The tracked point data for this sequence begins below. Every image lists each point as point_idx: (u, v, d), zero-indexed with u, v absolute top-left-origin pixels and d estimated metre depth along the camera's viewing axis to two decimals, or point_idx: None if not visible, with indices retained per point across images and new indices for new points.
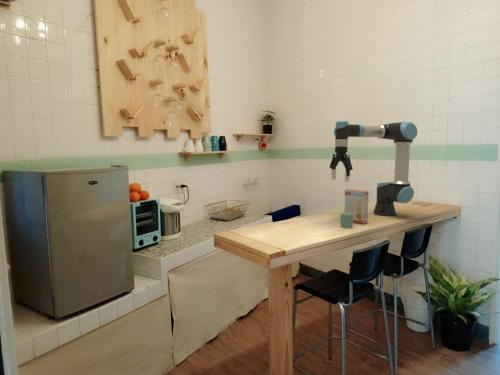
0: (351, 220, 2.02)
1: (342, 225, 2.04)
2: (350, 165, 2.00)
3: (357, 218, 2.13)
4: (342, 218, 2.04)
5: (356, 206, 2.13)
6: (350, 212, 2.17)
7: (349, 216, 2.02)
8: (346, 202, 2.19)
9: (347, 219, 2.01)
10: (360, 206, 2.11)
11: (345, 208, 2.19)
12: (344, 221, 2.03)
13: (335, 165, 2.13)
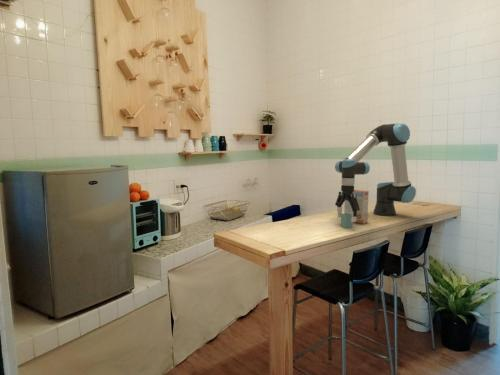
0: None
1: (342, 225, 2.04)
2: (357, 206, 1.94)
3: (357, 218, 2.13)
4: (342, 218, 2.04)
5: None
6: (350, 212, 2.17)
7: (349, 216, 2.02)
8: (346, 202, 2.19)
9: (347, 219, 2.01)
10: (360, 206, 2.11)
11: (345, 208, 2.19)
12: (344, 221, 2.03)
13: (341, 203, 2.08)
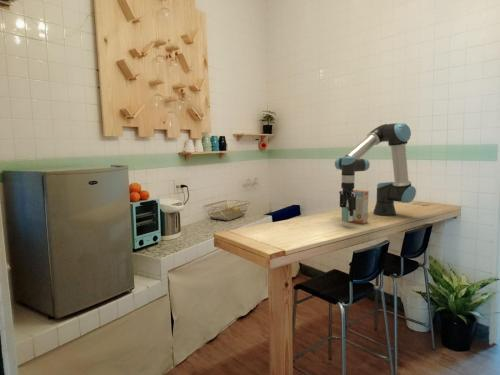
0: None
1: (343, 218, 2.04)
2: (354, 205, 1.98)
3: (357, 218, 2.13)
4: (343, 211, 2.04)
5: (356, 206, 2.13)
6: None
7: None
8: None
9: None
10: (360, 206, 2.11)
11: None
12: (345, 214, 2.03)
13: (345, 203, 2.05)
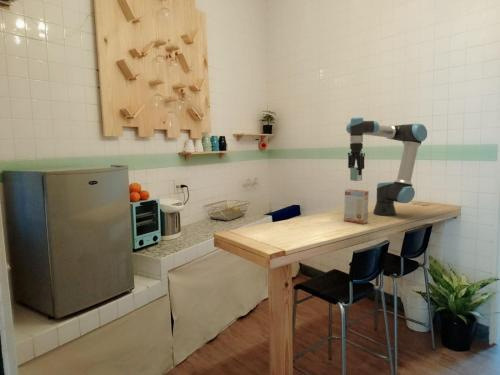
0: None
1: (352, 178, 2.11)
2: (363, 164, 2.05)
3: (357, 218, 2.13)
4: (351, 171, 2.11)
5: (356, 206, 2.13)
6: (350, 212, 2.17)
7: None
8: (346, 202, 2.19)
9: None
10: (360, 206, 2.11)
11: (345, 208, 2.19)
12: (353, 174, 2.10)
13: (353, 164, 2.13)
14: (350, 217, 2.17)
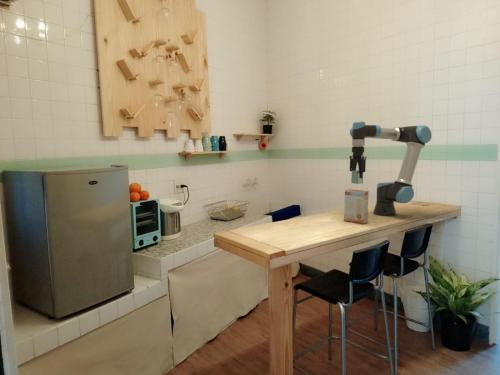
0: None
1: (353, 181, 2.15)
2: (364, 168, 2.08)
3: (357, 218, 2.13)
4: (353, 174, 2.14)
5: (356, 206, 2.13)
6: (350, 212, 2.17)
7: None
8: (346, 202, 2.19)
9: None
10: (360, 206, 2.11)
11: (345, 208, 2.19)
12: (354, 177, 2.13)
13: (354, 167, 2.16)
14: (350, 217, 2.17)
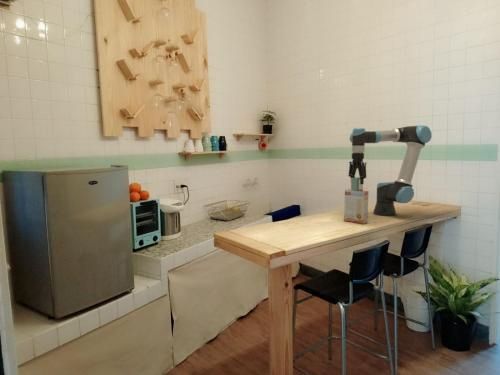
0: None
1: (353, 188, 2.15)
2: (365, 174, 2.08)
3: (357, 218, 2.13)
4: (353, 181, 2.15)
5: (356, 206, 2.13)
6: (350, 212, 2.17)
7: None
8: (346, 202, 2.19)
9: (358, 182, 2.12)
10: (360, 206, 2.11)
11: (345, 208, 2.19)
12: (354, 184, 2.13)
13: (354, 173, 2.17)
14: (350, 217, 2.17)
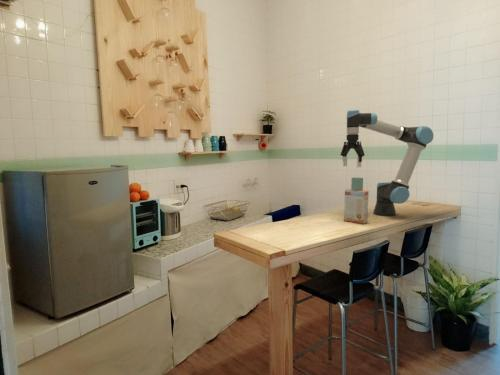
0: (361, 183, 2.13)
1: (353, 188, 2.15)
2: (362, 151, 2.12)
3: (357, 218, 2.13)
4: (353, 181, 2.15)
5: (356, 206, 2.13)
6: (350, 212, 2.17)
7: (359, 179, 2.12)
8: (346, 202, 2.19)
9: (358, 182, 2.12)
10: (360, 206, 2.11)
11: (345, 208, 2.19)
12: (354, 184, 2.14)
13: (346, 152, 2.25)
14: (350, 217, 2.17)
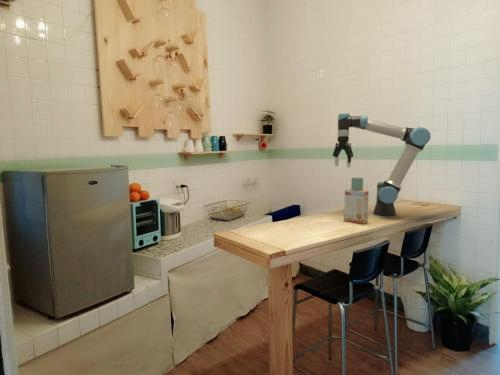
0: (361, 183, 2.13)
1: (353, 188, 2.15)
2: (351, 152, 2.25)
3: (357, 218, 2.13)
4: (353, 181, 2.15)
5: (356, 206, 2.13)
6: (350, 212, 2.17)
7: (359, 179, 2.12)
8: (346, 202, 2.19)
9: (358, 182, 2.12)
10: (360, 206, 2.11)
11: (345, 208, 2.19)
12: (354, 184, 2.14)
13: (338, 153, 2.38)
14: (350, 217, 2.17)
